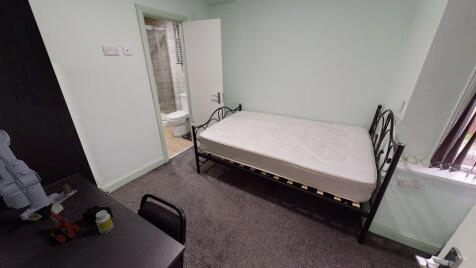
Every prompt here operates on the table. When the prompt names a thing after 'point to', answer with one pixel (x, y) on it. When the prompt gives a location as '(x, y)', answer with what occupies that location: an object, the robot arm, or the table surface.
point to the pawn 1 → (33, 216)
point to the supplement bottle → (104, 222)
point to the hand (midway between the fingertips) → (48, 217)
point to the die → (56, 209)
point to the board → (56, 202)
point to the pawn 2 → (66, 189)
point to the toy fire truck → (63, 228)
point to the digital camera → (94, 214)
